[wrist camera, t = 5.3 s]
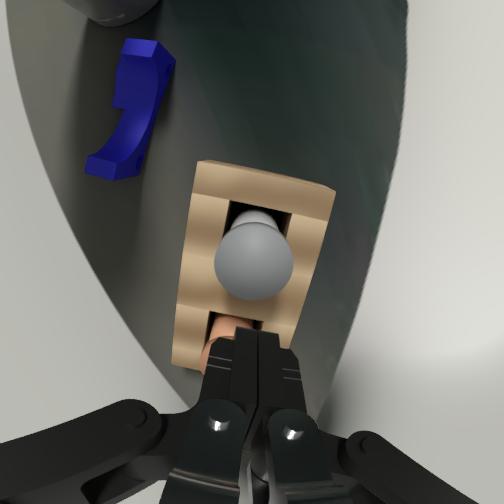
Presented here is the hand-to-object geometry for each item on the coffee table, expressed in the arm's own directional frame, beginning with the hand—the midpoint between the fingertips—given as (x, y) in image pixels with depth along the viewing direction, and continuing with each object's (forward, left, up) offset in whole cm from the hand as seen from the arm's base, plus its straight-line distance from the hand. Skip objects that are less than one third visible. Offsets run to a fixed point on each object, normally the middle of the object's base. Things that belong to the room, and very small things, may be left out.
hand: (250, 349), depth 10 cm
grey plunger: (0, 0, -16) cm, 16 cm away
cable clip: (-9, -14, -20) cm, 26 cm away
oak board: (+5, 0, -19) cm, 20 cm away
